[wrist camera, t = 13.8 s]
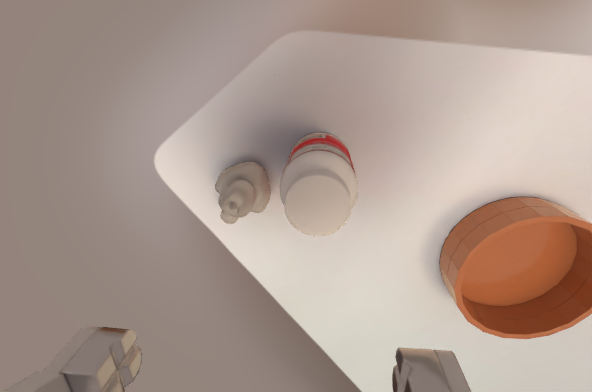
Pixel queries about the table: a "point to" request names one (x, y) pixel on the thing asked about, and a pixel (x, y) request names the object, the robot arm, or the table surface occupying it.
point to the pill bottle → (318, 185)
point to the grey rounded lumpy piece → (242, 191)
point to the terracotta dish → (520, 268)
